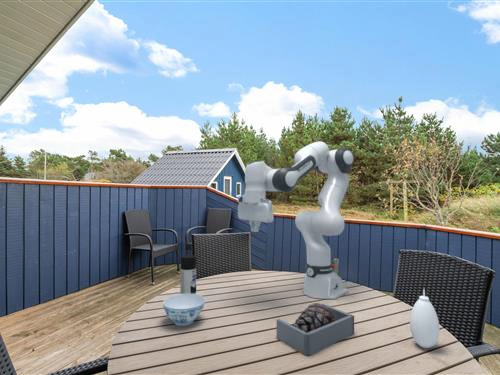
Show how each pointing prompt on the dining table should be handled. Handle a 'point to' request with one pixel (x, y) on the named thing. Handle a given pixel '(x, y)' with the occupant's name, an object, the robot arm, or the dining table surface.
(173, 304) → the chinaware
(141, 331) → the dining table surface
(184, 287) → the spray can
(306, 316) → the pine cone
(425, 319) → the sauce bottle
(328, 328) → the box
